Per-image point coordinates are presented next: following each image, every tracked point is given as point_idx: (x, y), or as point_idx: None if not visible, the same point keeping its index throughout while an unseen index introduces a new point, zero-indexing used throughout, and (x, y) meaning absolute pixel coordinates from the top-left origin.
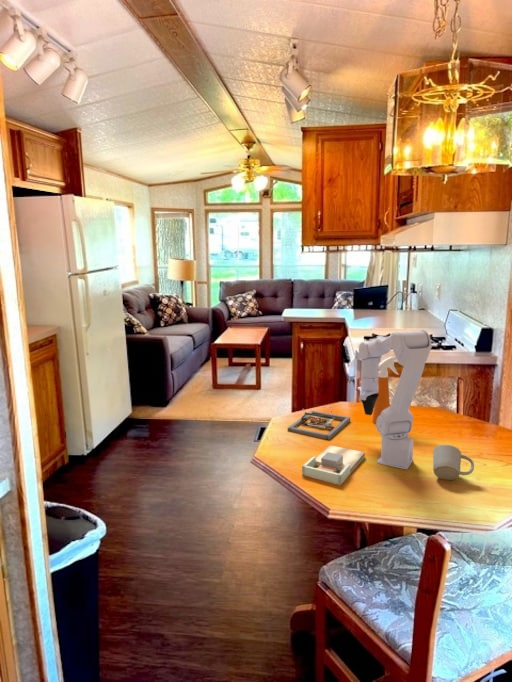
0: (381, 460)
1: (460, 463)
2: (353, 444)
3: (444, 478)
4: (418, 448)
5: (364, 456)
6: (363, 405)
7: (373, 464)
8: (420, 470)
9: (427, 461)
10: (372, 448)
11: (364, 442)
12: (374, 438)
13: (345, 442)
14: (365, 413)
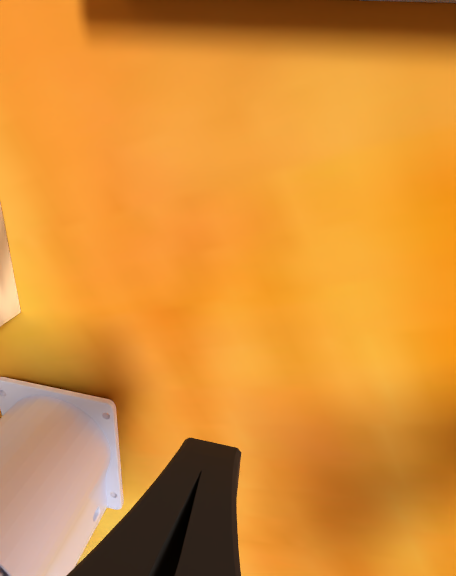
0: (20, 397)
1: None
2: (188, 207)
3: None
4: (290, 529)
5: (3, 321)
6: (86, 557)
7: (3, 355)
8: None
9: None
10: (183, 332)
11: (258, 273)
12: (361, 327)
13: (196, 138)
14: (179, 451)
